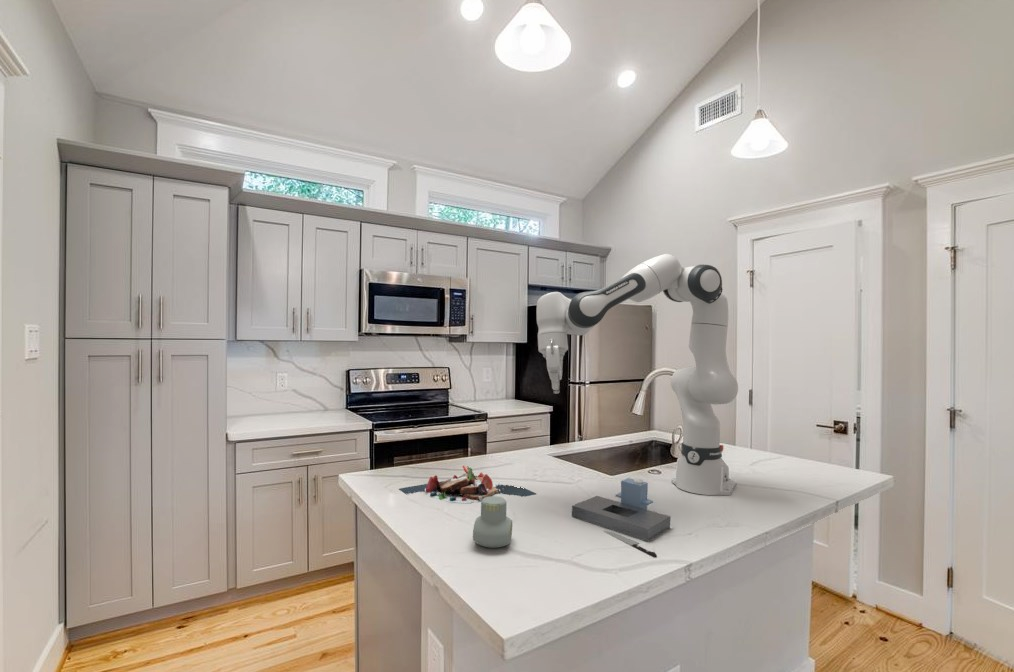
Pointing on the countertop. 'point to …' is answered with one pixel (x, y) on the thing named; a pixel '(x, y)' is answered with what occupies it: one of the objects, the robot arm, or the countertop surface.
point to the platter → (465, 488)
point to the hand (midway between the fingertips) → (556, 391)
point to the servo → (634, 493)
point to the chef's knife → (631, 543)
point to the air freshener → (493, 523)
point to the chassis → (622, 517)
